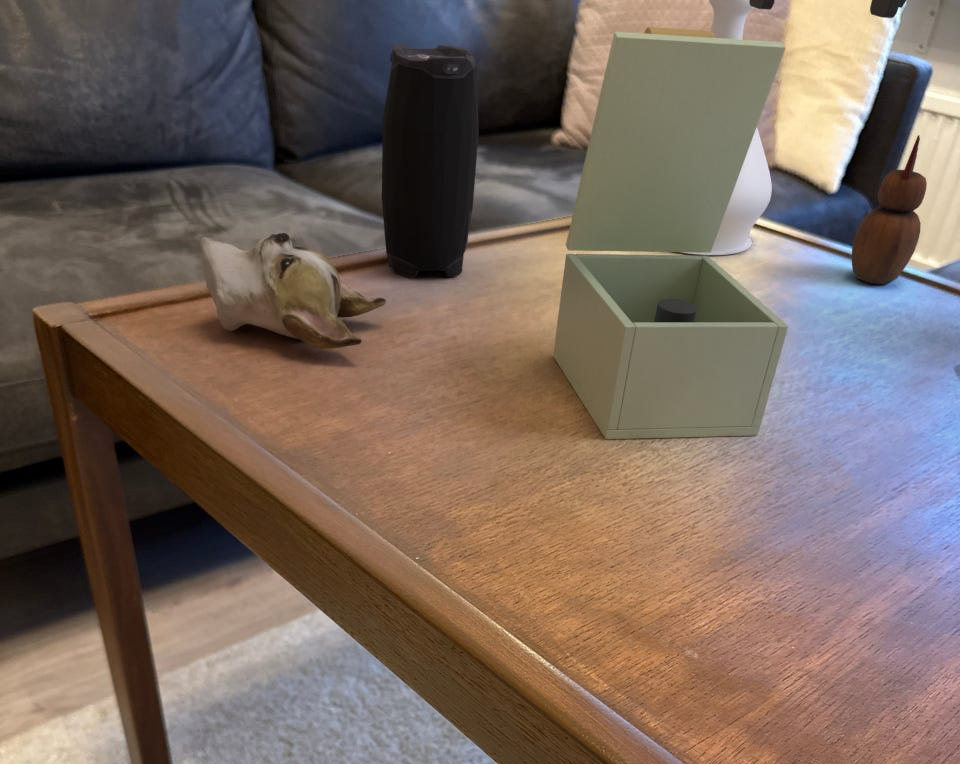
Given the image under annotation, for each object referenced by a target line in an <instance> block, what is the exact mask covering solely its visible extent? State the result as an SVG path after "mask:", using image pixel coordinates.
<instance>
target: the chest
mask: <svg viewBox="0 0 960 764" xmlns="http://www.w3.org/2000/svg"><path fill="white" fill-rule="evenodd" d="M560 290H561V291H560V299H559V305H558V306H559V307H558V312H557V313H558V315H557V321H556V322H557V323H556V331H555V336H554V337H555V338H554V345H553V346H554V347H553V351H552V352H553V353H552V357H553V359H554V360H555V361H556V363H557V365H558V366H559V368H560V370H561V371H562V373H563V374H564V376H565V378H566V379H567V381H568V382H569V384H570V385H571V387H572V389H573V390H574V392H575V394H576V395H577V397H578V398H579V400H580V401H581V403H582V404H583V405H584V408H585V409H586V410H587V412H588V414H589V415H590V417H591V418H592V420H593V422H594V424H595V425H596V426H597V428H598V430H599V431H600V433H601V435H602V436H603V438H604V439H605V440H632V439H633V440H635V439H672V438H673V439H675V438H676V439H677V438H708V437H709V438H710V437H711V438H712V437H713V438H714V437H745V436H747V437H749V436H758V435H759V433H760V431H761V426H762V422H763V419H764V416H765V415H764V414H765V411H766V408H767V404H768V401H769V396H770V393H771V390H772V386H773V383H774V379H775V376H776V372H777V369H778V366H779V362H780V358H781V355H782V350H783V348H784V343H785V339H786V336H787V332H788V329H789V325H788V324H787V323H785V322H784V321H783V320H782V319H781V318H780V317H778V316H777V315H776V314H775V313H774V312H773V311H772V310H771V309H769V308H768V306H766V305H765V304H764V303H762V301H761V300H759V298H757V297H756V296H755V295H753V294H752V293H751V292H750V291H749V290H748V289H747V288H746V287H745V286H744V285H743V284H742V283H740V282H739V281H738V280H736V279H735V278H734V277H733V276H732V275H731V274H730V273H729V272H728V271H726V270H725V269H724V268H723V267H722V266H721V265H719V264H718V263H717V262H716V261H715V260H714V259H713V258H711V257H710V255H692V254H688V255H683V254H681V255H680V254H619V253H617V254H616V253H615V254H614V253H613V254H611V253H610V254H609V253H566V254H565V259H564V267H563V275H562V284H561V289H560ZM664 299H678V300H683V301H687V302H689V303H691V304H693V305H695V306H696V308H697V311H696V315H695V320H694V322H654V320H655V314H656V309H657V304H658V302H659V301H661V300H664Z"/></svg>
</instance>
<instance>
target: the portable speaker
mask: <svg viewBox="0 0 960 764" xmlns="http://www.w3.org/2000/svg"><path fill="white" fill-rule="evenodd" d="M389 61H390V62H391V67H390V72H389V79H388V83H387V84H388V85H387V91H386V97H385V103H384V110H383V116H382V143H381V144H382V146H381V148H382V151H381V154H382V155H381V205H382V217H383V231H384V243H385V244H384V245H385V253H386V258H387V265H388V267H389V268H390V270H391V271H392V272H393V273H395V274H399V275H402V276H405V277H408V278H411V279H412V278H414V277H416V276H417V275H418V273H419V272H443V274H444V275H445V276H446V277H447V278H456V277H457V276H459V274H460V273H462V272H463V266H464V265H463V263H464V255H465V253H466V249H467V244H468V243H469V242H468V241H469V232H470V226H471V220H472V213H473V209H474V197H475V196H474V195H475V185H476V174H477V173H476V171H477V159H478V146H479V136H480V135H479V101H478V99H479V98H478V67H477V66H478V65H477V63H476V58H475V55H474V54H473V52H472V50H469V49H467V48H464V47H462V46H452V45H442V44H441V45H440V44H439V45H438V46H436V48H435V47H433V48H432V47H431V48H430V47H429V48H412V47H409V46H408V45H407V44H402V43H401V44H399V43H398V44H393V45H392V48H391V52H390V56H389Z"/></svg>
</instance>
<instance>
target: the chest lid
mask: <svg viewBox="0 0 960 764" xmlns="http://www.w3.org/2000/svg"><path fill="white" fill-rule="evenodd" d="M785 51H786V45H785V44H784V43H783V41H770V40H769V41H768V40H755V39H742V40H740V39H724V38H715V36H714V33H713V32H712V31H711V30H700V29H688V28H687V29H686V28H685V29H684V28H670V27H669V28H668V27H655V26H647V27H646V28H645V30H644V32H628V31H614V32H613V36H612V41H611V44H610V50H609V55H608V58H607V62H606V66H605V71H604V76H603V80H602V84H601V88H600V93H599V96H598V97H599V98H598V102H597V107H596V111H595V116H594V119H593V124H592V128H591V133H590V136H589V141H588V146H587V149H586V155H585V158H584V163H583V167H582V172H581V176H580V181H579V186H578V190H577V193H576V198H575V202H574V207H573V212H572V216H571V220H570V225H569V229H568V232H567V237H566V243H565V247H566V250H567V251H577V252H579V251H583V252H585V251H586V252H642V253H646V252H647V253H648V252H649V253H650V252H652V253H681V252H708V253H710V252H711V251H712V248H713V245H714V242H715V240H716V237H717V234H718V231H719V229H720V226H721V223H722V220H723V218H724V215H725V212H726V210H727V207H728V204H729V201H730V199H731V196H732V193H733V190H734V188H735V185H736V182H737V180H738V177H739V174H740V171H741V169H742V166H743V163H744V160H745V158H746V155H747V152H748V150H749V147H750V144H751V141H752V139H753V136H754V133H755V130H756V128H757V129H758V125H759V123H760V119H761V117H762V114H763V111H764V109H765V106H766V102H767V100H768V98H769V95H770V92H771V89H772V86H773V84H774V82H775V79H776V75H777V73H778V71H779V67H780V65H781V62H782V59H783V56H784V53H785Z"/></svg>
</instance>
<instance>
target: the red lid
mask: <svg viewBox="0 0 960 764" xmlns="http://www.w3.org/2000/svg"><path fill="white" fill-rule="evenodd" d="M696 311H697V308H696V306H695V305H693V304H691V303H689V302H687V301H683V300H678V299H664V300H661V301H659V302H658V304H657V309H656V314H655V320H654V322H694V320H695V315H696Z"/></svg>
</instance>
